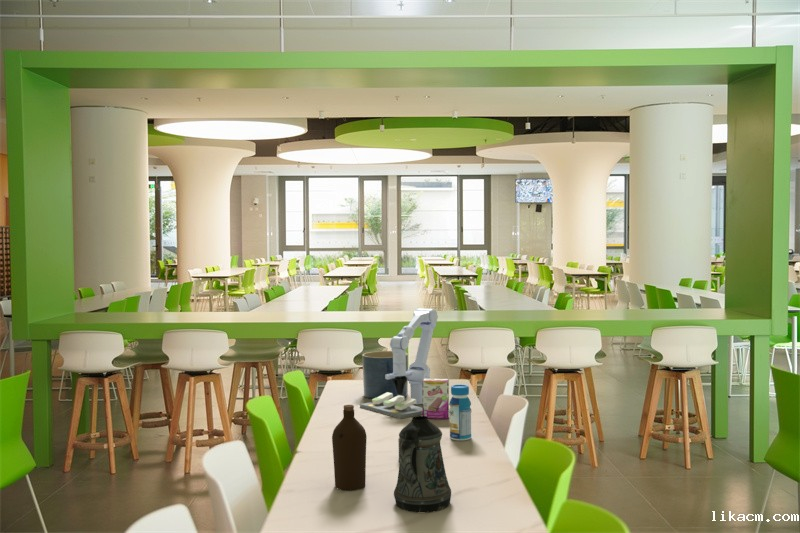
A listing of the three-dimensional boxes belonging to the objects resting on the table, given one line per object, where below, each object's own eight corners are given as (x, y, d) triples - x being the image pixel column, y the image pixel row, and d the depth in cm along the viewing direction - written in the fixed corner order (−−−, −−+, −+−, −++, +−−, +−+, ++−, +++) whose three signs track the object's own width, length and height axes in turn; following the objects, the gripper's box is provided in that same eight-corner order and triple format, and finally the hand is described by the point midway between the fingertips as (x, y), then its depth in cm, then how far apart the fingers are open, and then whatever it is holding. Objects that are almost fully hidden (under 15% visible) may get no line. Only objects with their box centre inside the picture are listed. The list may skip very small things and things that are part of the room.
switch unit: (388, 402, 365) (388, 396, 365) (429, 412, 341) (429, 406, 341) (360, 407, 355) (360, 401, 355) (400, 418, 331) (400, 412, 331)
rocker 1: (388, 395, 359) (387, 391, 358) (393, 396, 356) (392, 392, 355) (372, 403, 354) (371, 399, 353) (378, 404, 350) (377, 400, 350)
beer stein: (448, 493, 233) (447, 410, 233) (455, 516, 214) (454, 425, 213) (393, 494, 233) (391, 411, 232) (395, 517, 214) (393, 427, 213)
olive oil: (368, 490, 237) (366, 408, 236) (333, 492, 236) (331, 410, 235) (366, 479, 248) (364, 401, 247) (332, 481, 247) (331, 402, 246)
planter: (356, 398, 374) (355, 357, 373) (371, 390, 395) (370, 350, 394) (401, 401, 367) (400, 358, 367) (413, 391, 389) (413, 351, 388)
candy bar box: (422, 419, 329) (421, 380, 329) (423, 416, 334) (422, 378, 334) (449, 419, 328) (448, 380, 328) (449, 416, 333) (448, 378, 333)
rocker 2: (399, 398, 352) (398, 394, 352) (404, 399, 349) (404, 396, 349) (383, 405, 347) (383, 402, 347) (389, 407, 344) (388, 403, 343)
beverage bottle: (470, 441, 292) (469, 388, 291) (448, 440, 294) (447, 387, 293) (473, 435, 300) (472, 384, 300) (451, 435, 302) (450, 383, 301)
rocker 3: (411, 401, 345) (410, 397, 345) (416, 402, 342) (416, 398, 342) (395, 408, 340) (394, 405, 340) (401, 410, 337) (400, 406, 337)
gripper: (406, 360, 357) (407, 390, 357) (381, 364, 348) (381, 394, 348) (416, 362, 351) (416, 392, 352) (390, 365, 342) (391, 396, 343)
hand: (399, 393), depth 350 cm, fingers closed
